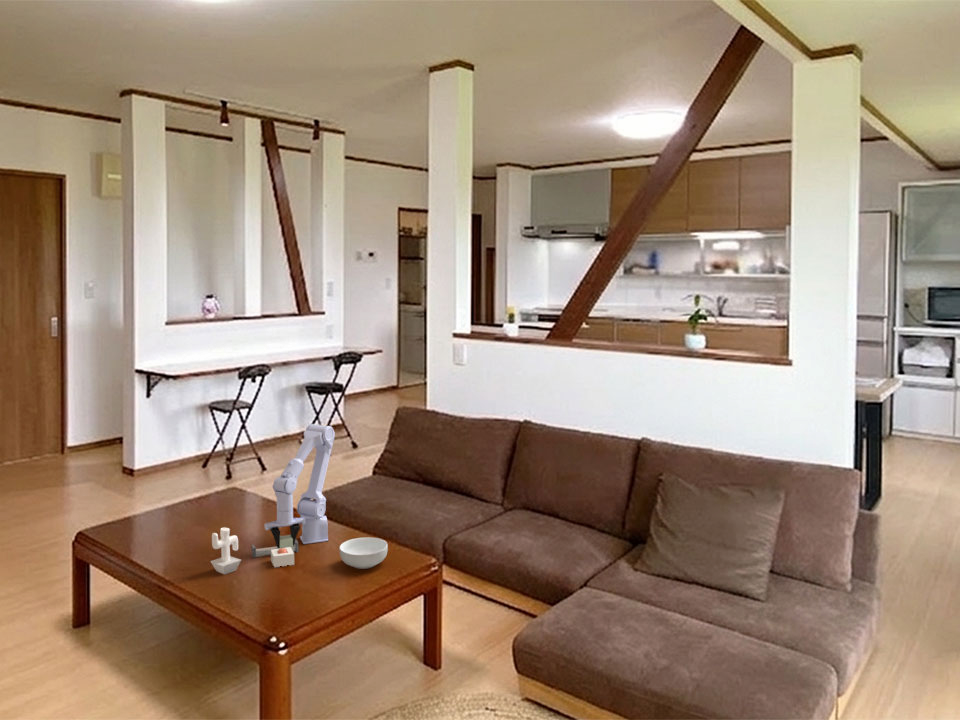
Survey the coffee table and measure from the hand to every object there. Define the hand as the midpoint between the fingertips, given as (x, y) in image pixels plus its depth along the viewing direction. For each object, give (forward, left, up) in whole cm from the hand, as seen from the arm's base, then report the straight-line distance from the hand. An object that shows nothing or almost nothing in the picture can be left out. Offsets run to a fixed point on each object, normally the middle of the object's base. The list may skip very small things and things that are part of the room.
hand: (285, 545), depth 284 cm
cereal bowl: (-23, +23, -3) cm, 33 cm away
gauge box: (+3, +10, -2) cm, 11 cm away
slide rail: (+4, 0, -2) cm, 4 cm away
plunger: (+3, +10, -2) cm, 11 cm away
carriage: (0, 0, -2) cm, 2 cm away
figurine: (+22, +11, -3) cm, 24 cm away
